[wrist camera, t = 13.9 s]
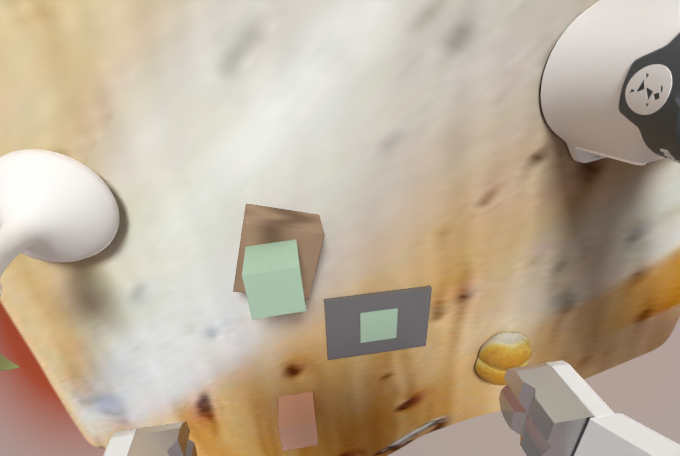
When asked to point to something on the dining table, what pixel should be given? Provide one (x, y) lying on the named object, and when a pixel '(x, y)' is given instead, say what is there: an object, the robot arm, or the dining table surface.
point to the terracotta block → (297, 421)
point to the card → (377, 322)
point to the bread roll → (502, 356)
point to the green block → (273, 279)
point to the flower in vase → (52, 211)
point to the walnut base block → (282, 238)
